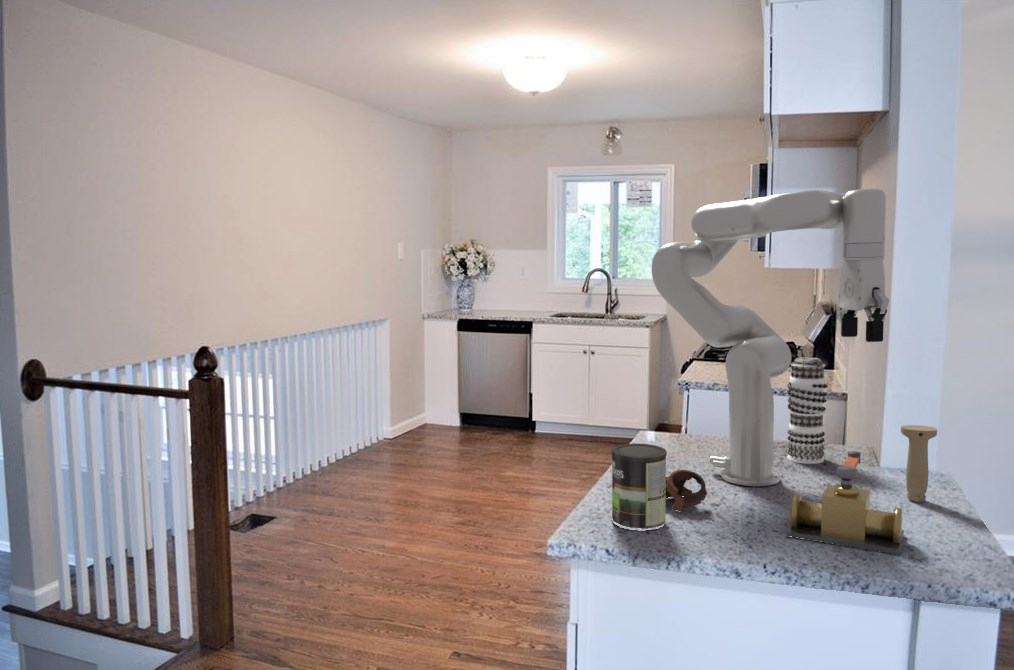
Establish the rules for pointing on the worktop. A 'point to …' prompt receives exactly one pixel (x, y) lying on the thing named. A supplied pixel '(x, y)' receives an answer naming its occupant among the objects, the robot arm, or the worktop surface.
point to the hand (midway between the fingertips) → (861, 339)
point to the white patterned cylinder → (806, 411)
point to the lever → (849, 466)
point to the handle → (917, 460)
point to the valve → (846, 520)
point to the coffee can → (638, 485)
